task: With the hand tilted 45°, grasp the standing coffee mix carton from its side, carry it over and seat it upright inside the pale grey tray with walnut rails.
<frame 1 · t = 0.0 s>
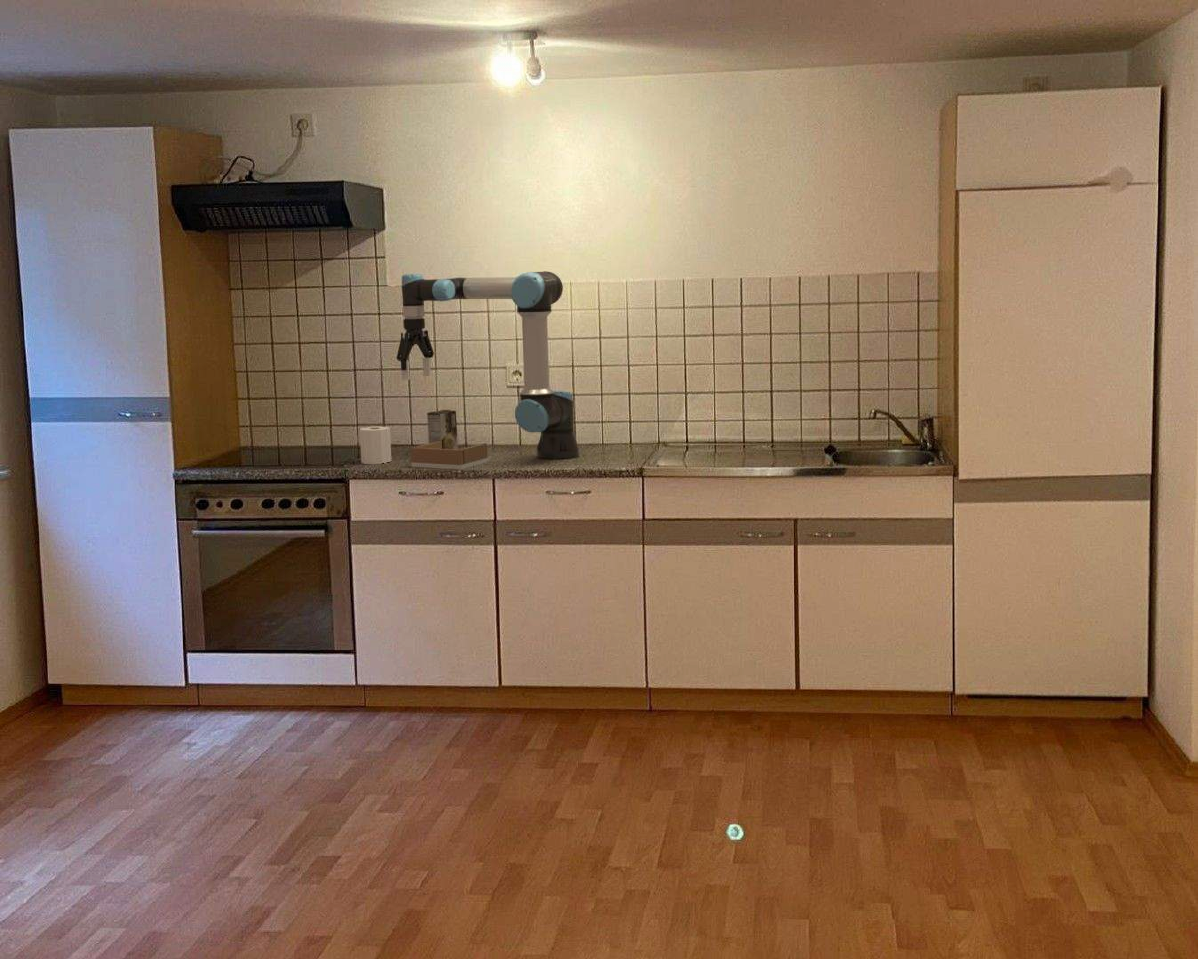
hand: (416, 377, 523), 28 cm above the counter, tool pointing down, fingers open, 13 cm apart
coffee box: (443, 456, 525), on the counter
tray: (450, 464, 505), on the counter
toilet paper: (376, 463, 514), on the counter
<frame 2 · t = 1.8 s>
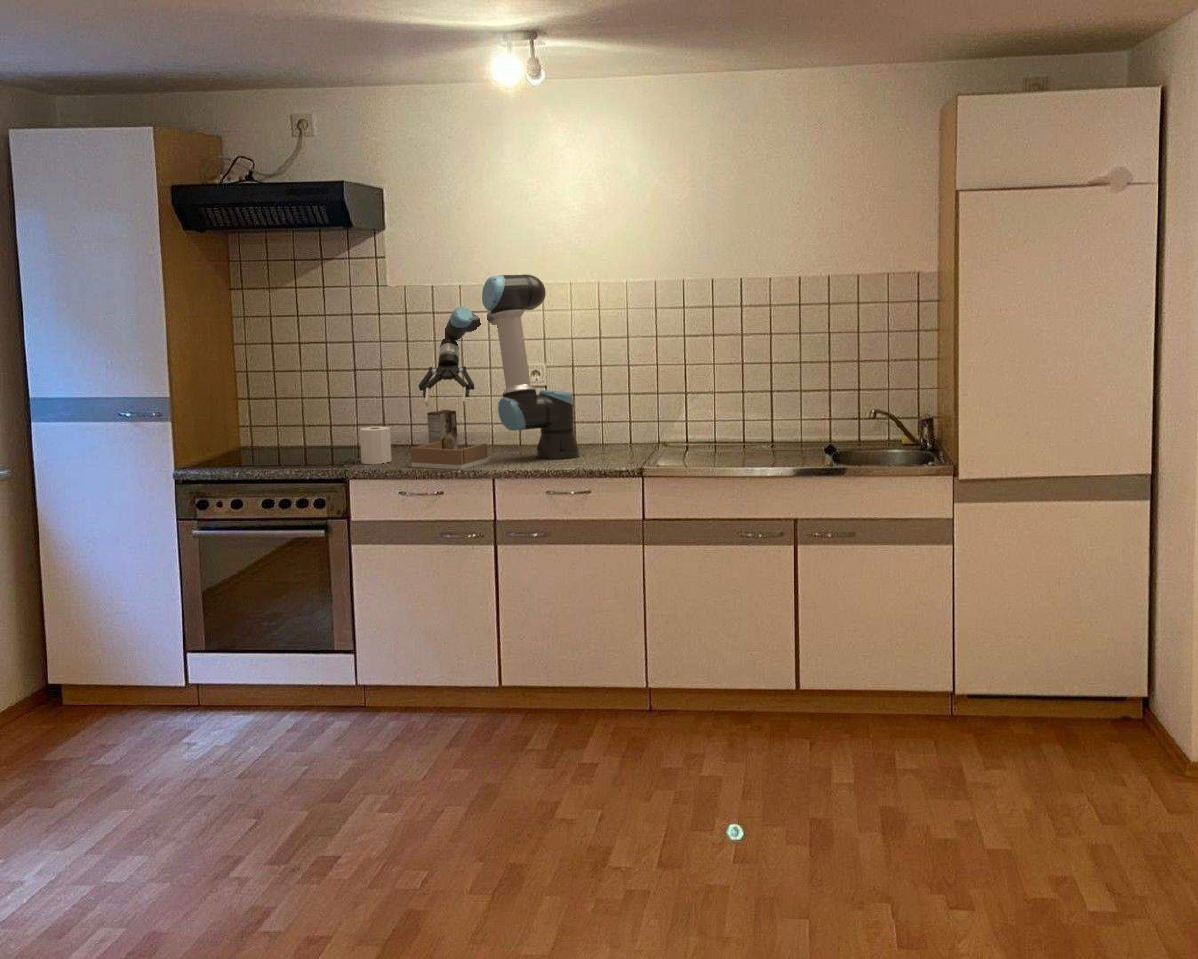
hand: (445, 403, 532), 18 cm above the counter, tool tilted 45°, fingers open, 13 cm apart
nothing on the counter moved.
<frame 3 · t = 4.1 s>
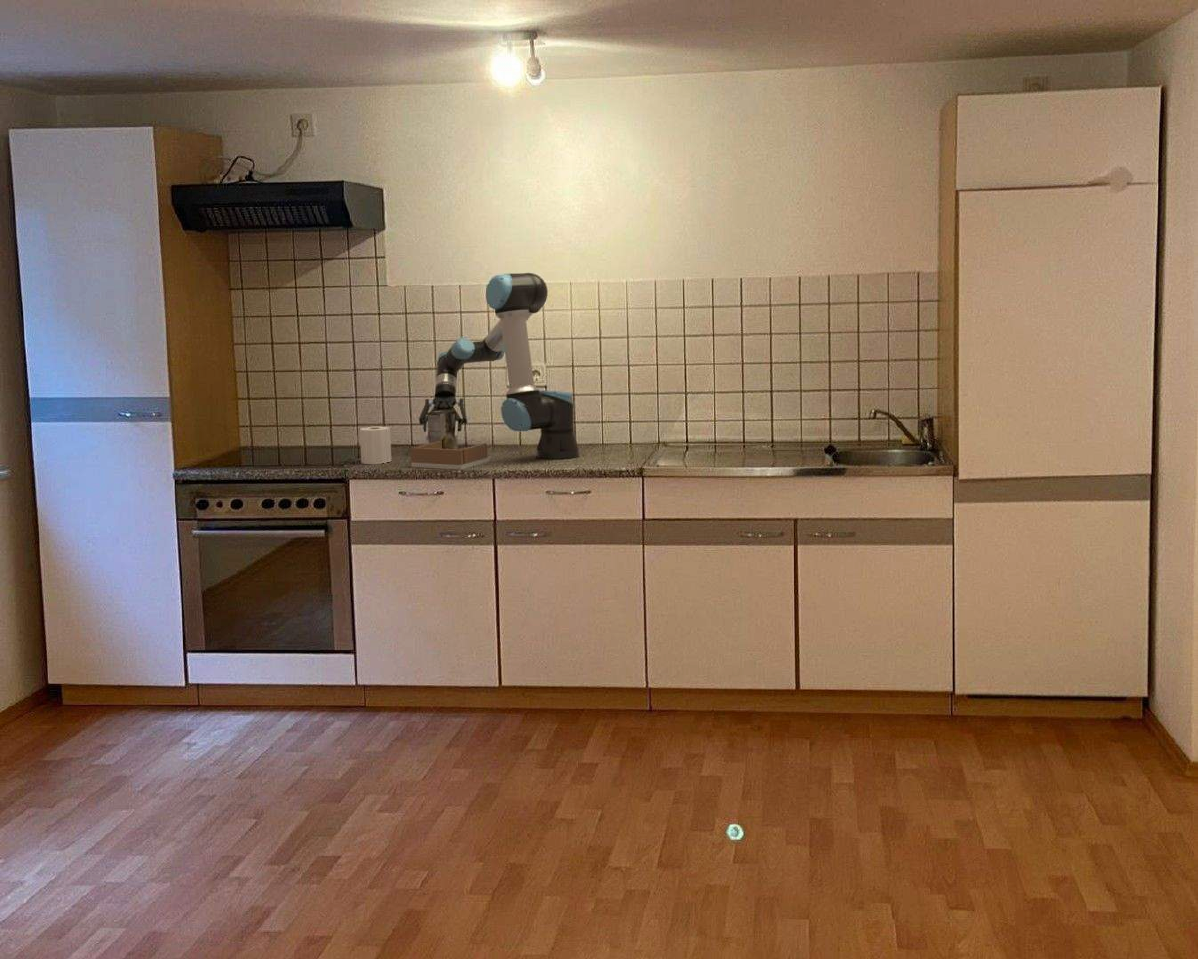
hand: (441, 437, 521), 7 cm above the counter, tool tilted 45°, fingers closed on coffee box, 10 cm apart
coffee box: (443, 456, 525), on the counter, touching gripper
everything else where it was.
when the fingers open (10 cm above the counter, at t = 9.0 s): coffee box drops 1 cm, resting on tray.
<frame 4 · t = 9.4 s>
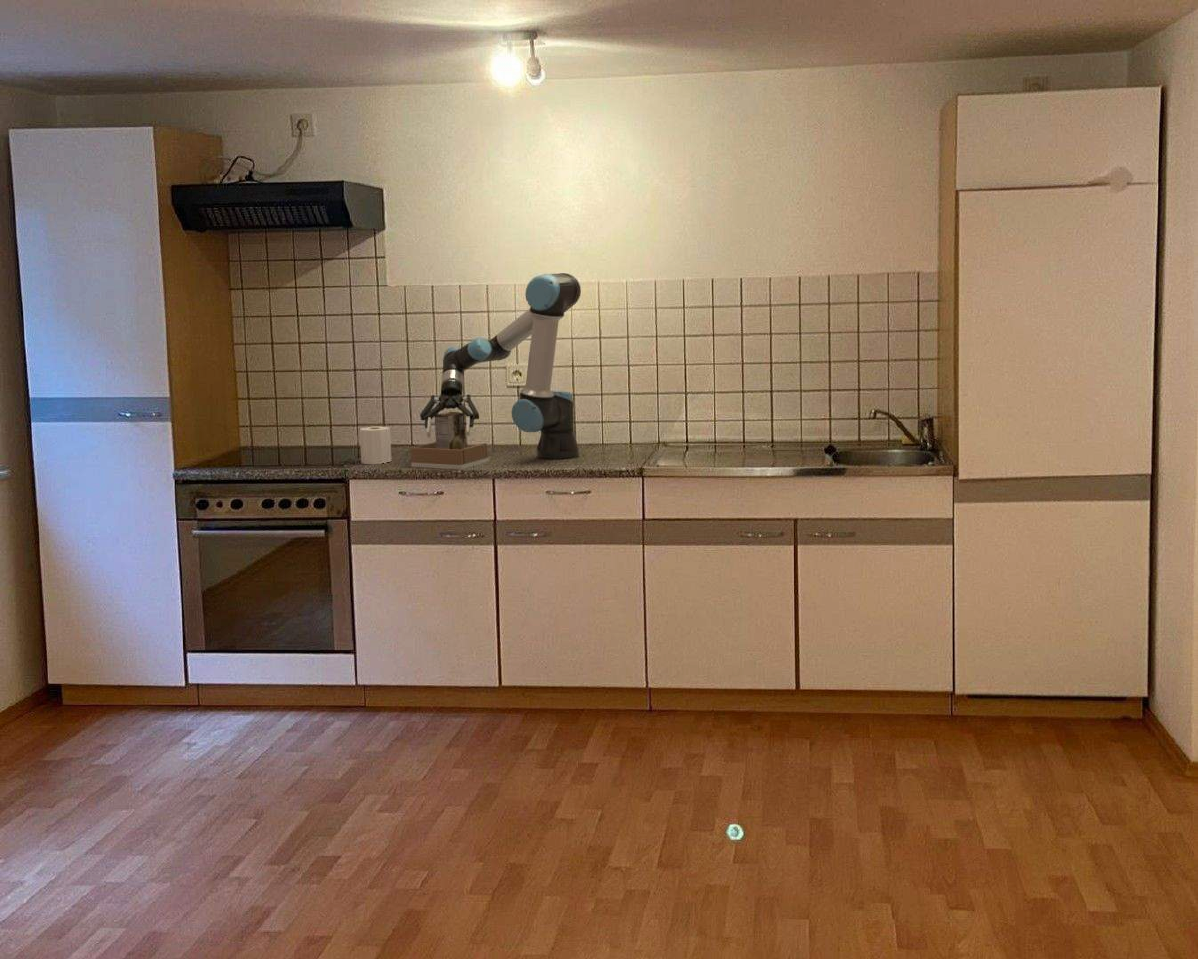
hand: (448, 434, 501), 11 cm above the counter, tool tilted 45°, fingers open, 13 cm apart
coffee box: (451, 460, 505), point 1 cm above the counter, touching tray
everything else where it was.
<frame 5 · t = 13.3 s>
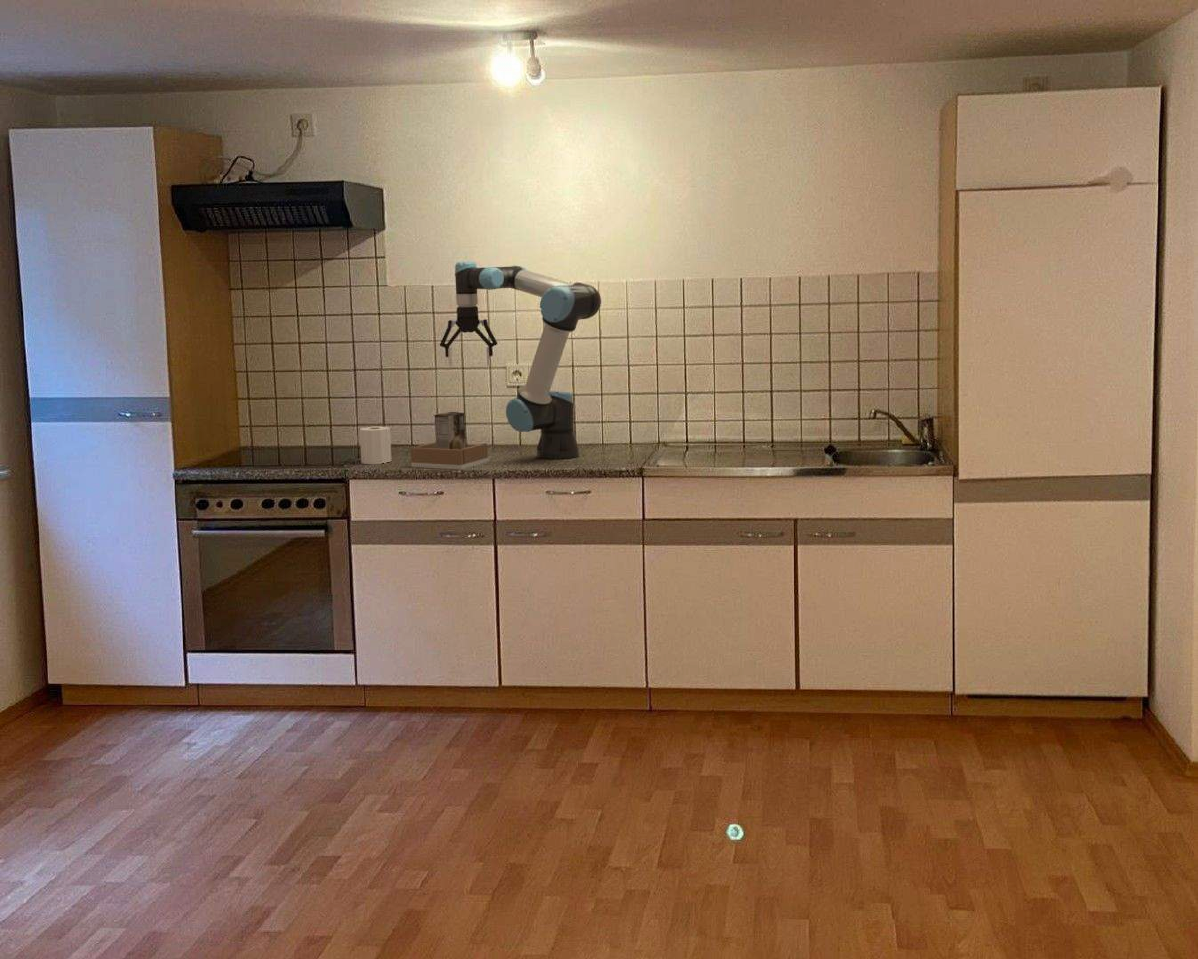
hand: (469, 366, 522), 32 cm above the counter, tool pointing down, fingers open, 13 cm apart
nothing on the counter moved.
at the end: coffee box inside the target area on the tray (0.4 cm from its centre), point 1.3 cm above the tray's base; coffee box tilted 0°; the gripper is holding nothing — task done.
